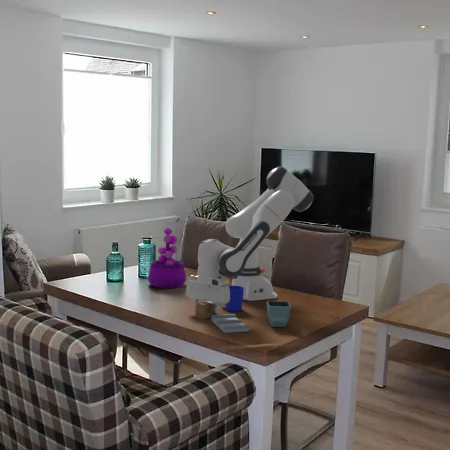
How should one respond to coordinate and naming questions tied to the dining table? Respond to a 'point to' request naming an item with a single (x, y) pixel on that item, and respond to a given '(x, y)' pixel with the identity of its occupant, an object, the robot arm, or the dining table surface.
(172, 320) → the dining table surface
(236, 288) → the mug
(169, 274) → the decorative plant
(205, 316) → the brown block
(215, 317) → the grey ridged tray
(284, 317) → the flower pot
